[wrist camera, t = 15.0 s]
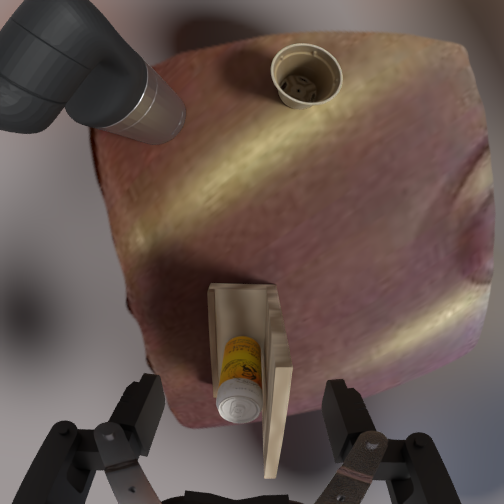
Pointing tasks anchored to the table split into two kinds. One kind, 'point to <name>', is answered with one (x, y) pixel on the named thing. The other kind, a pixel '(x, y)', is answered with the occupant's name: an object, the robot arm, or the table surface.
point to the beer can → (240, 381)
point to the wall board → (272, 351)
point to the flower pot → (306, 75)
